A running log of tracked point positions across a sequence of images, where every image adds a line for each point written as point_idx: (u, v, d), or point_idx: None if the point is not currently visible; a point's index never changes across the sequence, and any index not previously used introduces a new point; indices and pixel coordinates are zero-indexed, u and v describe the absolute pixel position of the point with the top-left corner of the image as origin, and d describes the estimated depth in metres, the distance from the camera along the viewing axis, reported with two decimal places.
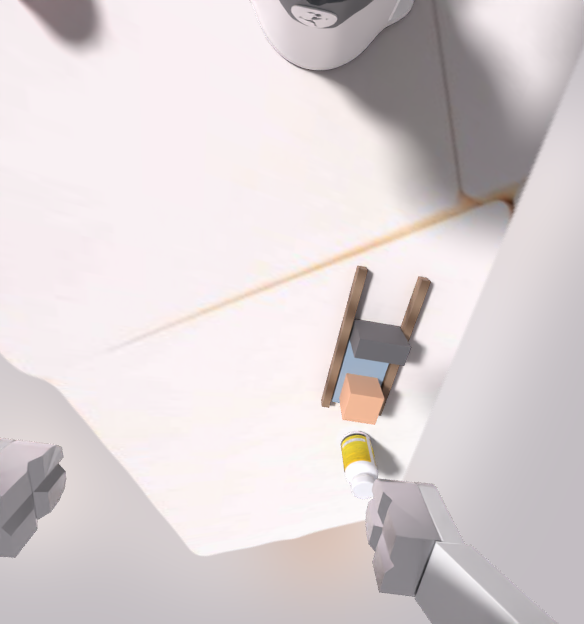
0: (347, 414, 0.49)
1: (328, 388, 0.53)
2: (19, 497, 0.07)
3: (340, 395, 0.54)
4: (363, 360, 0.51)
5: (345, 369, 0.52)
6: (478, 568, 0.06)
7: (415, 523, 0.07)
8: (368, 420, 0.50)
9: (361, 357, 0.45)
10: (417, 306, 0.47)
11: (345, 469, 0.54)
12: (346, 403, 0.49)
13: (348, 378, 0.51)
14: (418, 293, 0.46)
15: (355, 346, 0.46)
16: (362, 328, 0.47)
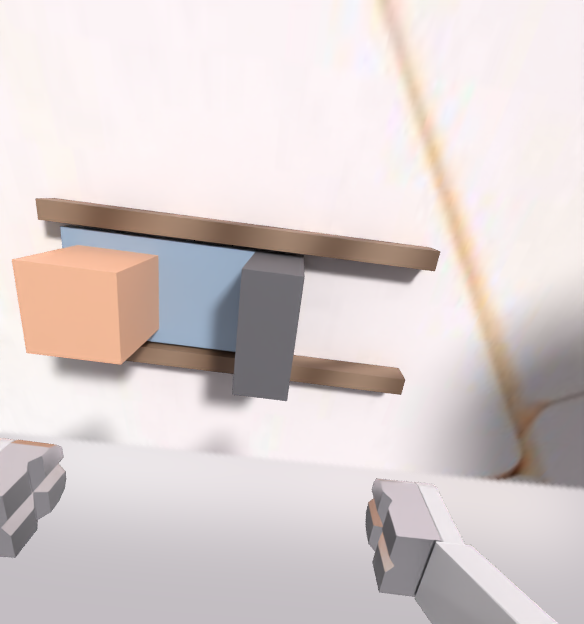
0: (36, 271, 0.16)
1: (101, 211, 0.19)
2: (19, 497, 0.07)
3: (87, 247, 0.20)
4: (201, 291, 0.21)
5: (168, 251, 0.21)
6: (478, 568, 0.06)
7: (415, 523, 0.07)
8: (35, 334, 0.17)
9: (244, 289, 0.16)
10: (347, 380, 0.23)
11: None
12: (75, 264, 0.16)
13: (148, 261, 0.19)
14: (376, 377, 0.23)
15: (268, 267, 0.17)
16: None
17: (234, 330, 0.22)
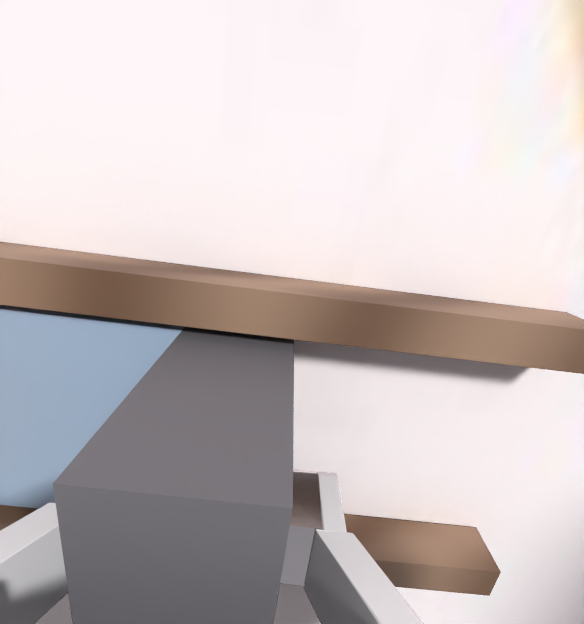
0: None
1: None
2: None
3: None
4: (69, 411, 0.10)
5: None
6: (351, 556, 0.06)
7: (301, 511, 0.07)
8: None
9: (75, 542, 0.04)
10: None
11: None
12: None
13: None
14: (443, 569, 0.11)
15: (175, 438, 0.05)
16: None
17: None
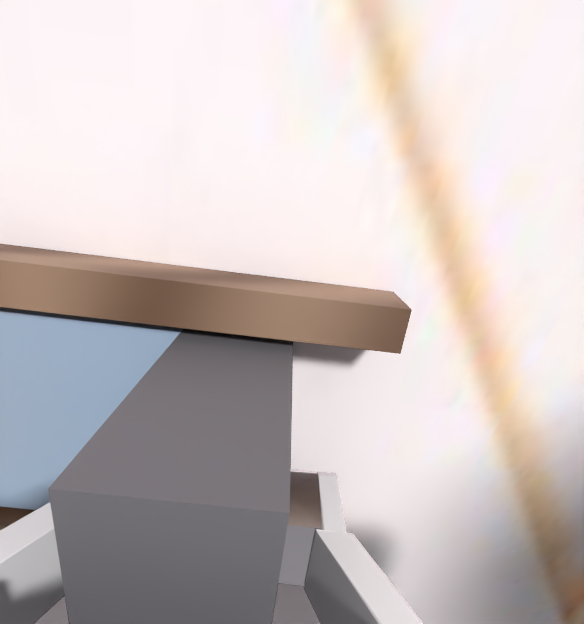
0: None
1: None
2: None
3: None
4: (68, 413, 0.10)
5: None
6: (350, 556, 0.06)
7: (301, 511, 0.07)
8: None
9: (70, 547, 0.04)
10: None
11: None
12: None
13: None
14: None
15: (172, 441, 0.05)
16: None
17: None
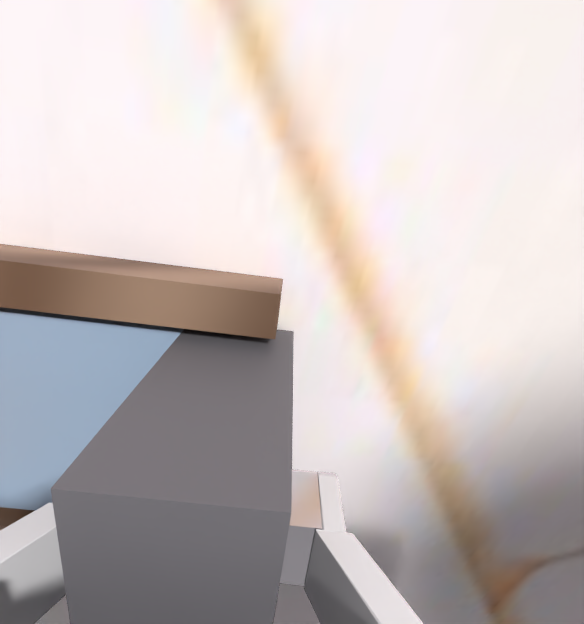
0: None
1: None
2: None
3: None
4: (68, 413, 0.10)
5: None
6: (351, 556, 0.06)
7: (301, 511, 0.07)
8: None
9: (72, 547, 0.04)
10: None
11: None
12: None
13: None
14: None
15: (174, 441, 0.05)
16: None
17: None
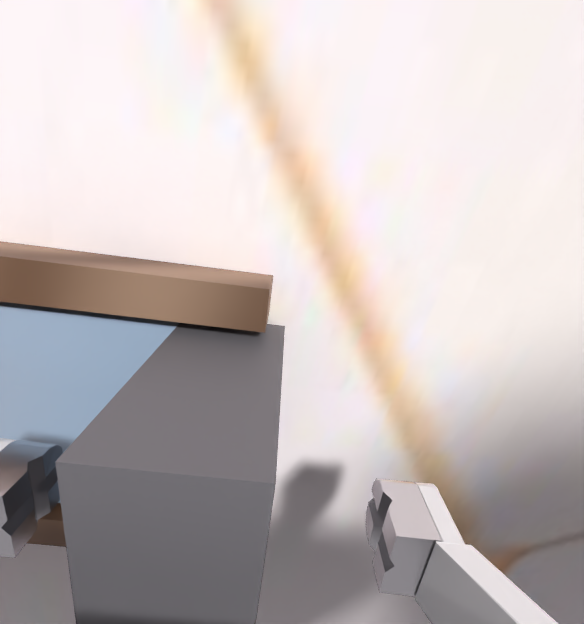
0: None
1: None
2: (19, 497, 0.07)
3: None
4: (67, 405, 0.10)
5: None
6: (478, 569, 0.06)
7: (415, 523, 0.07)
8: None
9: (75, 517, 0.05)
10: None
11: None
12: None
13: None
14: None
15: (169, 422, 0.06)
16: None
17: None
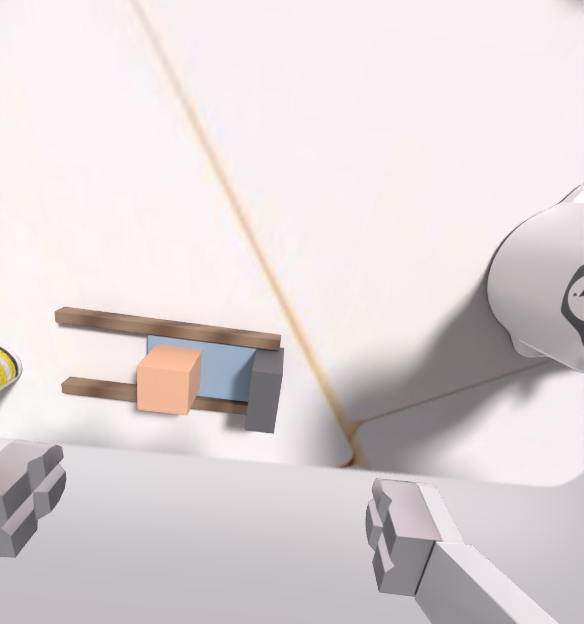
0: (148, 371, 0.32)
1: (91, 318, 0.35)
2: (19, 497, 0.07)
3: (162, 346, 0.36)
4: (225, 368, 0.38)
5: (207, 348, 0.37)
6: (479, 569, 0.06)
7: (415, 523, 0.07)
8: (143, 400, 0.33)
9: (252, 380, 0.32)
10: (237, 409, 0.39)
11: None
12: (167, 366, 0.33)
13: (198, 356, 0.36)
14: None
15: (264, 367, 0.33)
16: None
17: (243, 389, 0.39)
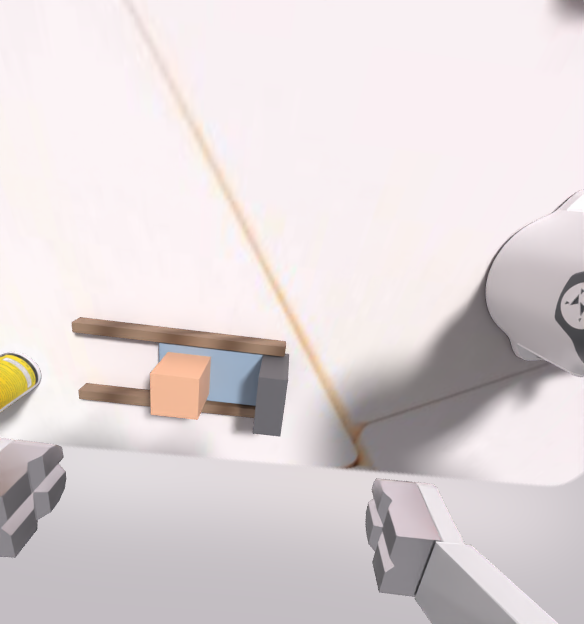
0: (161, 378, 0.34)
1: (106, 328, 0.37)
2: (19, 497, 0.07)
3: (173, 353, 0.38)
4: (233, 374, 0.39)
5: (216, 354, 0.39)
6: (478, 568, 0.06)
7: (415, 523, 0.07)
8: (156, 406, 0.35)
9: (259, 385, 0.34)
10: (245, 413, 0.41)
11: None
12: (178, 374, 0.34)
13: (207, 363, 0.37)
14: None
15: (270, 373, 0.35)
16: None
17: (250, 394, 0.40)
